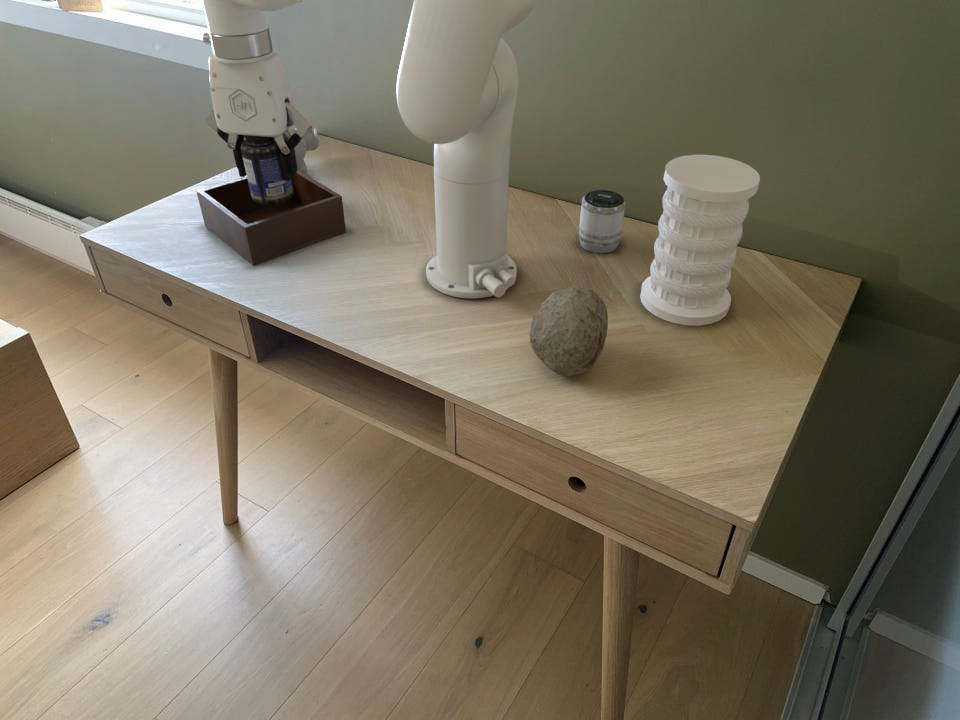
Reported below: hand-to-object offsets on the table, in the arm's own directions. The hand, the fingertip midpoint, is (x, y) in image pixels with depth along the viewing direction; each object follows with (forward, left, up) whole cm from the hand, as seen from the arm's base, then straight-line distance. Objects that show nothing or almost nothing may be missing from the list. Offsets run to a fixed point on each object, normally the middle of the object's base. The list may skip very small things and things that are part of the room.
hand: (268, 174), depth 104 cm
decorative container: (-47, -40, -9) cm, 62 cm away
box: (0, 0, -9) cm, 9 cm away
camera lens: (-29, -40, -9) cm, 50 cm away
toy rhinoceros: (+20, -11, -9) cm, 25 cm away
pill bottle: (0, 0, -4) cm, 4 cm away
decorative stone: (-50, -18, -9) cm, 53 cm away
